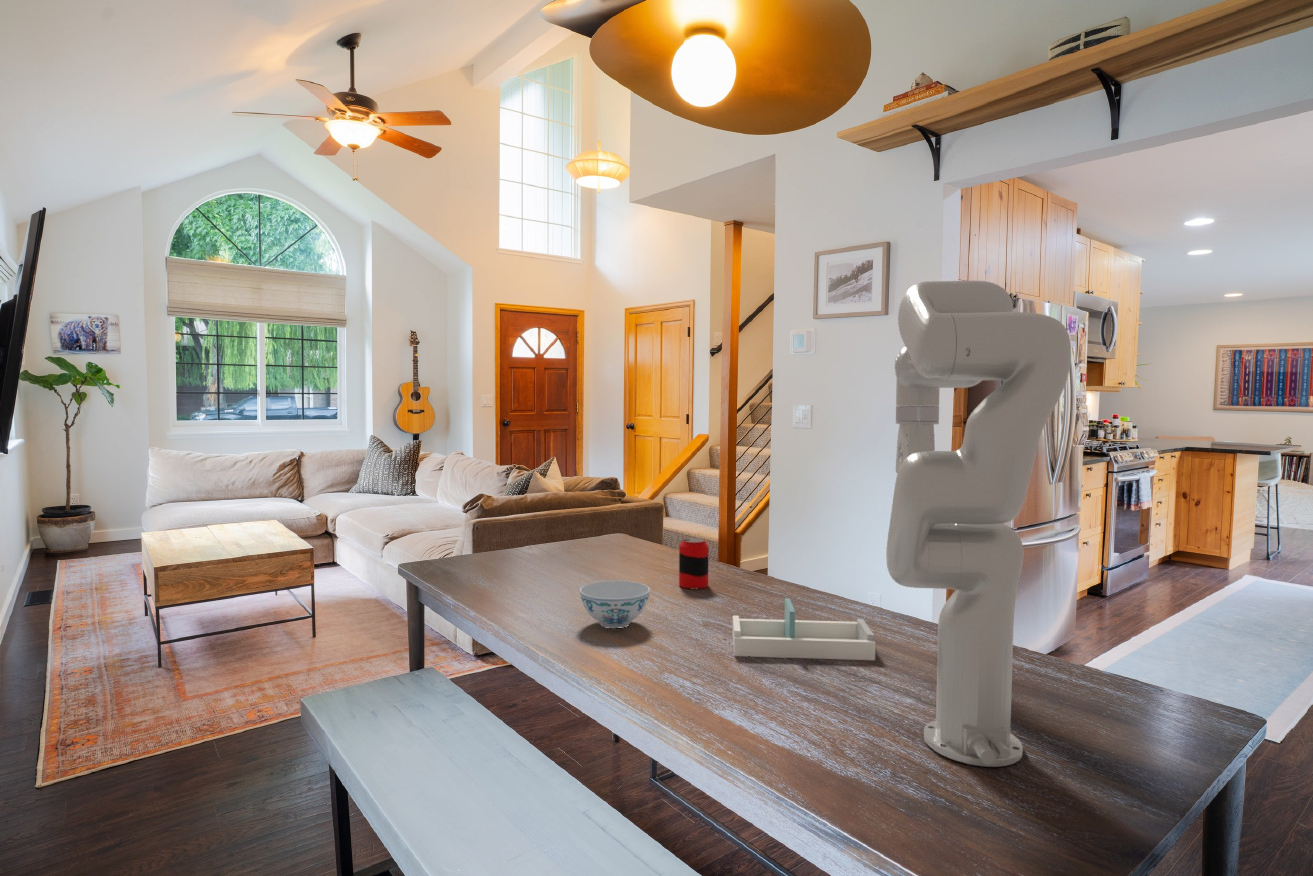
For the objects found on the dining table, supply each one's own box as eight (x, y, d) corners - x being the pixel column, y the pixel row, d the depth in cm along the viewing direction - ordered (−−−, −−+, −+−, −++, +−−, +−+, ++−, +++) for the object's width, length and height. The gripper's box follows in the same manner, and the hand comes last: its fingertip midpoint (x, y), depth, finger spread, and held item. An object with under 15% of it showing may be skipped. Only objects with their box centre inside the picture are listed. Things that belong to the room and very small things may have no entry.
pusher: (794, 651, 136) (795, 611, 136) (789, 651, 136) (789, 611, 136) (789, 635, 145) (789, 598, 145) (784, 635, 145) (784, 598, 145)
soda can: (679, 582, 191) (679, 537, 190) (707, 582, 191) (708, 537, 190) (678, 589, 183) (679, 543, 183) (708, 590, 183) (709, 543, 182)
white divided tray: (875, 660, 133) (875, 637, 133) (734, 656, 135) (734, 633, 135) (861, 638, 146) (861, 617, 145) (732, 634, 148) (732, 613, 147)
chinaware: (568, 631, 149) (568, 595, 149) (595, 611, 164) (595, 578, 163) (636, 639, 145) (636, 601, 145) (658, 617, 159) (658, 583, 159)
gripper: (886, 415, 142) (884, 505, 143) (907, 416, 125) (905, 519, 125) (925, 415, 141) (923, 506, 142) (952, 417, 124) (950, 520, 125)
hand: (915, 511), depth 134 cm, fingers closed on beverage bottle, 6 cm apart
